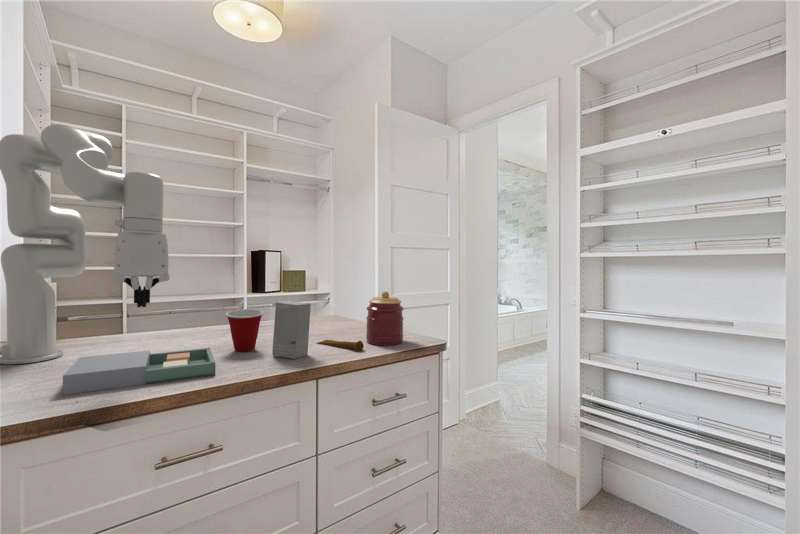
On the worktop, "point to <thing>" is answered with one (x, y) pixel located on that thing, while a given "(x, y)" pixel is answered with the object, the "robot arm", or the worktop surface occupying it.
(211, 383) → the worktop surface
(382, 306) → the canister
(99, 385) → the grey board
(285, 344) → the skincare box
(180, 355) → the tile terracotta
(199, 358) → the tray
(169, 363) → the tile cream
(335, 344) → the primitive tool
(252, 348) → the plastic cup
